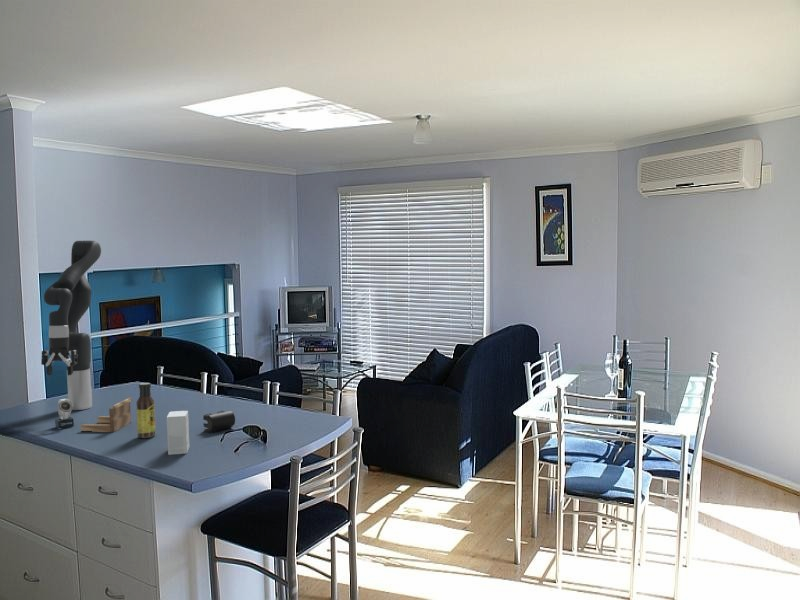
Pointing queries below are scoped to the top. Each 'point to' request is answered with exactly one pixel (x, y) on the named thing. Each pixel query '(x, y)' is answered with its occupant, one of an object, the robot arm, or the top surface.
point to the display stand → (112, 418)
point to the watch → (64, 414)
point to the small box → (177, 432)
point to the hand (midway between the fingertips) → (59, 375)
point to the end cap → (219, 421)
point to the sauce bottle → (145, 412)
